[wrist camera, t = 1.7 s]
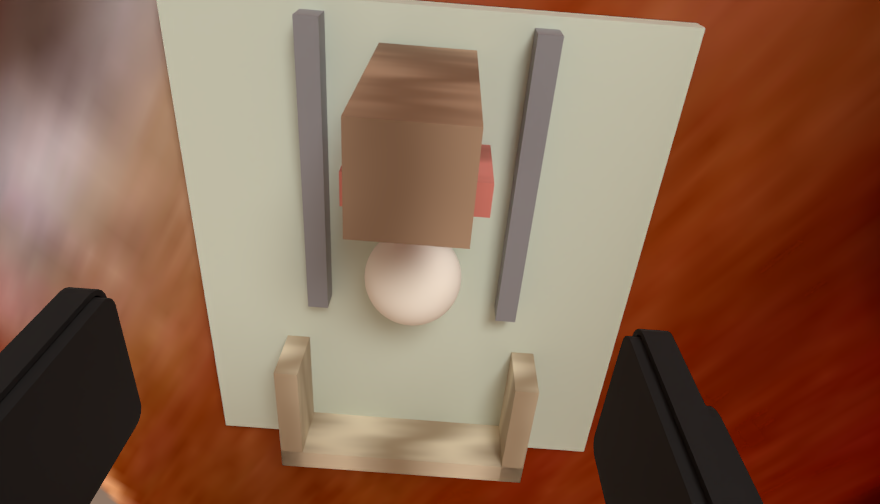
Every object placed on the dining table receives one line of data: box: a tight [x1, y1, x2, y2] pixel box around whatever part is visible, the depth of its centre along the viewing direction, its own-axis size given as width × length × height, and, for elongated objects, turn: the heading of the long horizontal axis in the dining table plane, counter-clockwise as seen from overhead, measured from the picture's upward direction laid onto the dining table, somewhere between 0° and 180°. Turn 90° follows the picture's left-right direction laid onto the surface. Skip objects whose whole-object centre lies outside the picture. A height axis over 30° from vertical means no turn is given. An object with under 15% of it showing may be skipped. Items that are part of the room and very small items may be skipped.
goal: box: [273, 335, 539, 483], centre depth 34 cm, size 14×7×3 cm, turn 86°
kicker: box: [339, 43, 494, 249], centre depth 22 cm, size 6×6×9 cm
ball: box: [364, 242, 461, 326], centre depth 28 cm, size 4×4×4 cm
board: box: [156, 0, 705, 452], centre depth 31 cm, size 22×25×2 cm
